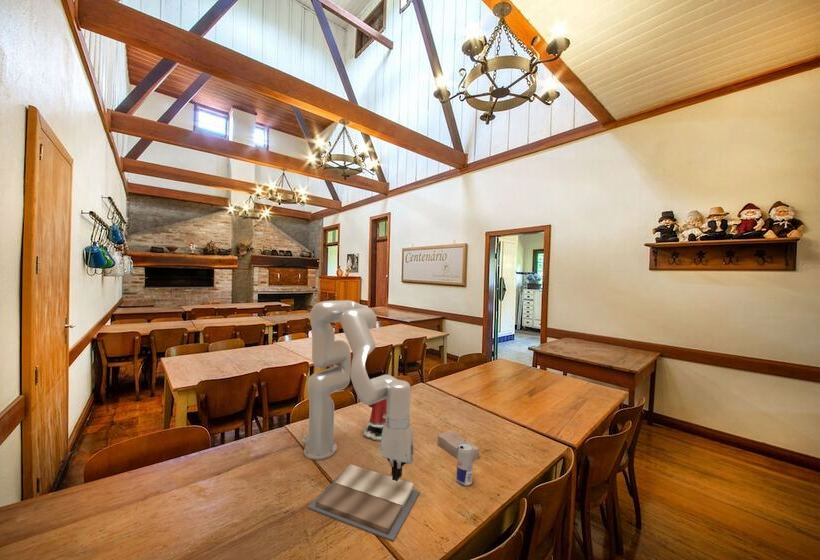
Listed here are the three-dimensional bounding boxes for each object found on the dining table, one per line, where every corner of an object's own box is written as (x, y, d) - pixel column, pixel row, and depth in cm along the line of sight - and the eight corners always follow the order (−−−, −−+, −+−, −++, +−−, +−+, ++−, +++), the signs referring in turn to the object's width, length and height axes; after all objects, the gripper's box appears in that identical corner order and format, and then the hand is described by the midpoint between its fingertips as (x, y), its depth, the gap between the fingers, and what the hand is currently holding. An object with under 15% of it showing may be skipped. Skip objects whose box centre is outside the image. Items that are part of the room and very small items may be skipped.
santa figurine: (380, 420, 148) (382, 369, 148) (403, 429, 140) (405, 375, 139) (355, 434, 134) (357, 378, 134) (379, 445, 126) (381, 385, 126)
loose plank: (334, 486, 99) (334, 482, 99) (350, 468, 107) (350, 464, 107) (402, 509, 90) (402, 505, 90) (413, 487, 98) (413, 483, 98)
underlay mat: (307, 508, 90) (307, 506, 90) (346, 470, 108) (346, 468, 108) (393, 541, 79) (393, 539, 79) (419, 493, 98) (419, 491, 98)
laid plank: (315, 506, 90) (315, 501, 90) (333, 487, 98) (334, 483, 98) (388, 534, 81) (388, 528, 81) (401, 511, 89) (401, 506, 89)
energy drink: (454, 476, 107) (455, 442, 107) (469, 476, 107) (470, 442, 107) (458, 486, 102) (459, 450, 102) (474, 486, 102) (475, 450, 102)
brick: (479, 458, 119) (480, 446, 119) (464, 465, 114) (465, 452, 114) (451, 440, 132) (451, 429, 132) (436, 445, 128) (436, 434, 128)
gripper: (371, 421, 97) (370, 478, 96) (415, 430, 91) (414, 492, 91) (382, 411, 104) (381, 465, 103) (423, 420, 98) (422, 477, 98)
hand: (396, 478), depth 97 cm, fingers closed
